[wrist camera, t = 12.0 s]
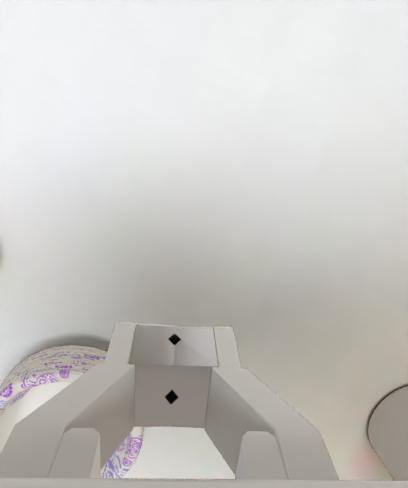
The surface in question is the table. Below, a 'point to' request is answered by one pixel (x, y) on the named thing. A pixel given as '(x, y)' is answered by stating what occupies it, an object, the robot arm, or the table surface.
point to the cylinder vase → (391, 433)
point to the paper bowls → (48, 385)
